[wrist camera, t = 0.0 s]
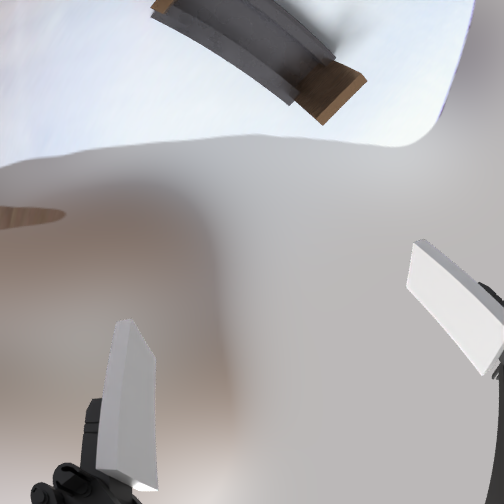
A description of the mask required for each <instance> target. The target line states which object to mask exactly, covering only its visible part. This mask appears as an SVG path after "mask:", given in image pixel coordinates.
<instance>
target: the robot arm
mask: <svg viewBox="0 0 504 504" xmlns="http://www.w3.org/2000/svg"><path fill="white" fill-rule="evenodd" d="M406 287H407V289H408V290H409V291H410V292H411V293H412V294H413V295H414V296H415V297H416V298H417V299H418V300H419V302H420V303H421V304H422V305H423V306H424V307H425V308H426V309H427V310H428V311H429V313H430V314H431V315H432V316H433V317H434V318H435V319H436V321H438V323H439V324H440V325H441V326H442V327H443V329H444V330H445V331H446V332H447V333H448V334H449V336H450V337H451V338H452V339H453V340H454V342H455V343H456V344H457V345H458V346H459V348H460V349H461V350H462V351H463V353H464V354H465V355H466V356H467V357H468V359H469V360H470V361H471V363H472V364H473V365H474V366H475V368H476V369H477V370H478V372H479V373H480V374H481V376H483V375H484V374H485V373H487V372H488V371H489V370H491V369H492V368H493V366H494V365H495V363H496V362H497V360H498V359H499V360H500V362H501V363H500V364H499V366H498V367H497V369H496V370H495V372H494V373H493V375H492V379H494V378H495V376H496V375H497V374H498V372H499V375H498V376H497V378H496V379H497V380H499V417H498V431H497V442H496V450H495V457H494V464H493V470H492V475H491V480H490V485H489V490H488V494H487V498H486V502H485V504H504V301H502V299H501V298H500V297H499V296H498V295H496V293H495V292H494V291H493V290H492V289H491V288H490V287H488V286H486V285H484V284H482V283H480V282H478V283H477V282H476V281H475V280H474V279H472V278H471V277H470V276H469V275H468V274H467V273H466V272H465V271H463V270H462V269H461V268H460V267H459V266H457V265H456V264H455V263H454V262H453V261H451V260H450V259H449V258H448V257H447V256H445V255H444V254H443V253H442V252H441V251H439V250H438V249H437V248H436V247H434V246H433V245H432V244H430V243H429V242H428V241H427V240H425V239H422V240H419V241H416V242H413V248H412V255H411V261H410V268H409V273H408V279H407V284H406ZM155 382H156V358H155V356H154V355H153V353H152V351H151V350H150V348H149V347H148V345H147V343H146V342H145V340H144V338H143V336H142V335H141V333H140V331H139V330H138V328H137V326H136V325H135V323H134V321H133V319H132V318H131V319H126V320H122V321H117V322H116V326H115V330H114V335H113V340H112V345H111V350H110V356H109V361H108V366H107V372H106V378H105V384H104V390H103V397H102V398H99V399H92V401H91V403H90V405H89V407H88V408H87V411H86V418H85V423H86V424H85V425H84V434H83V442H82V451H81V452H82V453H81V463H80V467H78V466H76V465H74V464H72V463H63V464H61V465H59V466H58V467H57V468H56V469H55V471H54V474H53V485H54V486H53V487H52V486H50V485H48V484H46V483H43V482H41V483H37V484H35V485H34V486H33V488H32V490H31V502H32V504H142V503H141V502H140V501H139V500H138V499H137V498H136V497H135V496H134V495H133V494H132V488H135V489H137V490H139V491H158V478H157V462H156V437H155V436H156V435H155Z"/></svg>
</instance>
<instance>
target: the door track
mask: <svg viewBox="0 0 504 504" xmlns="http://www.w3.org/2000/svg"><path fill="white" fill-rule="evenodd" d="M150 8H152V9H154V10H156V11H155V12H154V13H153V14H152V16H151V18H153V19H155V20H157V21H159V22H161V23H163V24H165V25H167V26H169V27H171V28H173V29H175V30H177V31H178V32H180V33H182V34H184V35H186V36H187V37H189V38H191V39H193V40H194V41H196V42H198V43H199V44H201V45H203V46H204V47H206V48H208V49H209V50H211V51H213V52H214V53H216V54H217V55H219V56H220V57H222V58H224V59H225V60H227V61H228V62H230V63H231V64H233V65H234V66H236V67H237V68H239V69H240V70H242V71H243V72H244V73H246V74H247V75H249V76H250V77H252V78H253V79H254V80H256V81H257V82H259V83H260V84H261V85H263V86H264V87H265V88H267V89H268V90H269V91H271V92H272V93H273V94H275V95H276V96H277V97H279V98H280V99H281V100H282V101H284V102H285V103H286V104H287V105H289V106H290V105H291V104H292V103H293V102H294V101H296V102H297V103H298V104H299V105H300V106H301V107H302V108H304V109H305V110H306V111H307V112H308V113H309V114H310V115H311V116H313V117H314V118H315V119H316V120H317V121H318V122H319V123H320V124H321V125H324V124H325V123H326V122H327V121H328V120H329V119H330V118H331V117H332V116H333V115H334V114H335V113H336V112H337V111H338V110H339V109H340V108H341V107H342V106H343V105H344V104H345V103H346V102H347V101H348V100H349V99H350V98H351V97H352V96H353V95H354V94H355V93H356V92H357V91H358V90H359V89H360V88H361V87H362V86H363V85H364V84H365V83H366V82H367V80H366V79H365V77H364V76H363V75H362V74H361V73H359V72H357V71H355V70H353V69H351V68H349V67H347V66H345V65H343V64H341V63H338V62H336V61H334V60H335V59H336V57H335V56H334V55H333V54H332V53H331V52H330V51H329V50H328V49H327V48H326V47H325V46H324V45H323V44H322V43H321V42H320V41H319V40H318V39H317V38H316V37H315V36H314V35H313V34H312V33H311V32H310V31H308V30H307V29H306V28H305V27H304V26H303V25H302V24H301V23H300V22H298V21H297V20H296V19H295V18H294V17H293V16H292V15H290V14H289V13H288V12H287V11H286V10H284V9H283V8H282V7H281V6H279V5H278V4H277V3H276V2H274V1H273V0H156V1H155V2H154V4H153V5H152V6H151V7H150Z"/></svg>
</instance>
